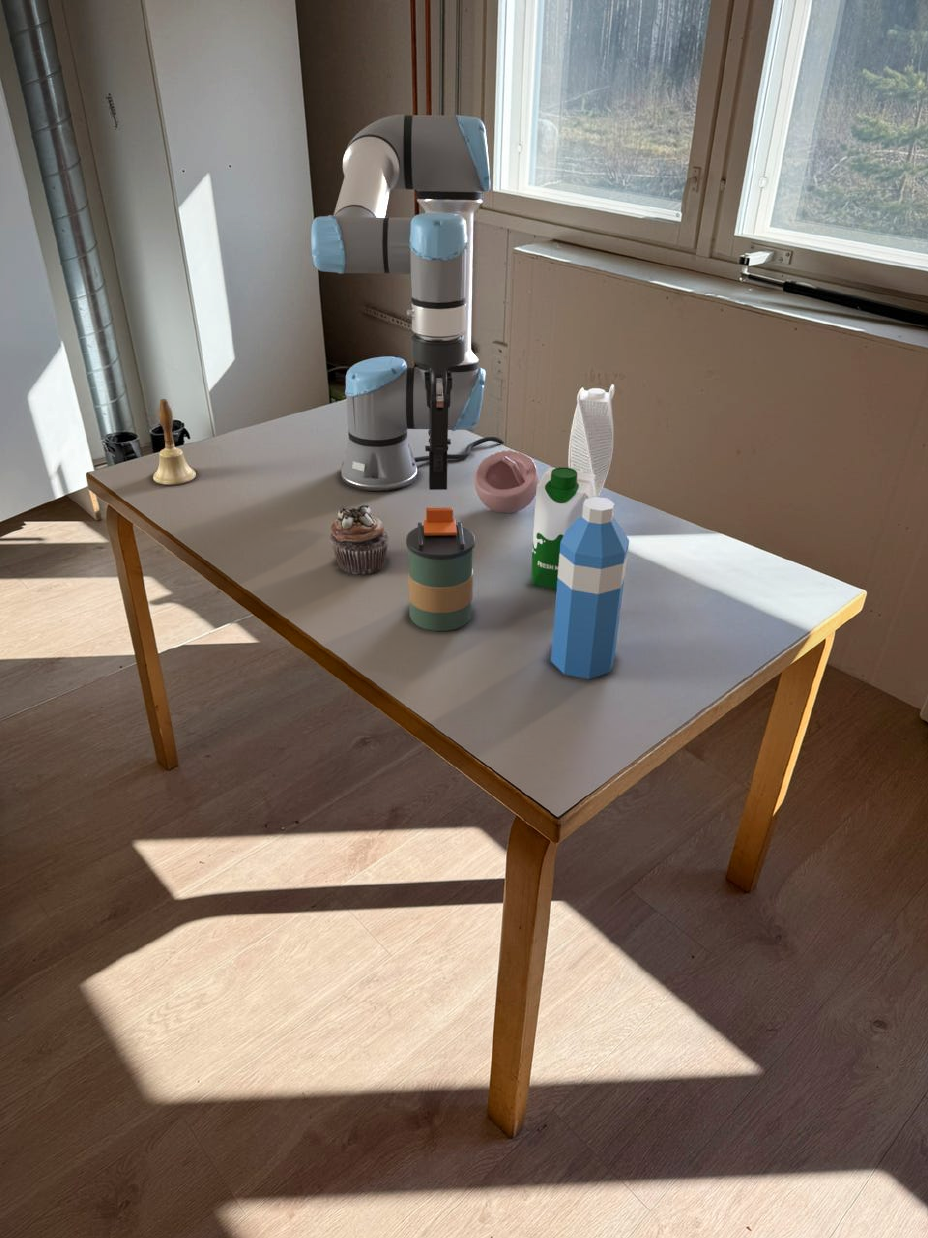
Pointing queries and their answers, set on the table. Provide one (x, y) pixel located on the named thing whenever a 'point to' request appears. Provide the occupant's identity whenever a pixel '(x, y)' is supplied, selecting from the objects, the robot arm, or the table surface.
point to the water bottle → (589, 592)
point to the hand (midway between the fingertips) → (438, 487)
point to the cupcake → (359, 541)
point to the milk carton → (556, 518)
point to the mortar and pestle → (506, 481)
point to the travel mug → (440, 591)
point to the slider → (439, 522)
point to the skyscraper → (592, 435)
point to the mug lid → (440, 543)
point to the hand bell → (171, 453)
